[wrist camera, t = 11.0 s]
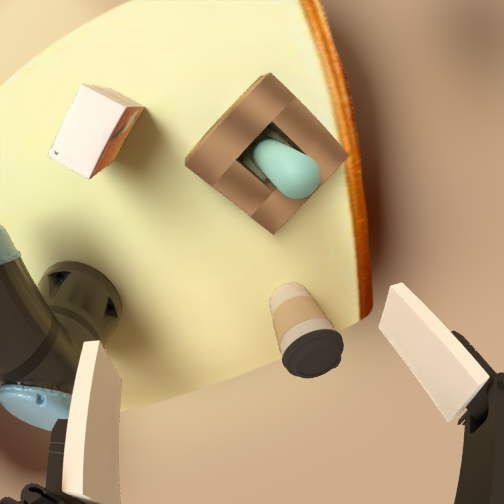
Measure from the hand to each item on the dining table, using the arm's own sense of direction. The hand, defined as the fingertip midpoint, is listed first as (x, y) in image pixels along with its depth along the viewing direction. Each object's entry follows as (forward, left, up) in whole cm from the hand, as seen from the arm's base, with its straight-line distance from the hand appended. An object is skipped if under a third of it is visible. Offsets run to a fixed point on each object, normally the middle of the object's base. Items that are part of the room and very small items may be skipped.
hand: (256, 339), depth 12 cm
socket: (+7, -3, -29) cm, 30 cm away
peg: (+7, -3, -29) cm, 30 cm away
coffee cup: (-8, -24, -29) cm, 38 cm away
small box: (-2, +14, -29) cm, 32 cm away
